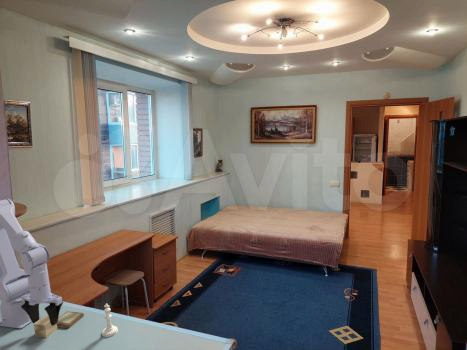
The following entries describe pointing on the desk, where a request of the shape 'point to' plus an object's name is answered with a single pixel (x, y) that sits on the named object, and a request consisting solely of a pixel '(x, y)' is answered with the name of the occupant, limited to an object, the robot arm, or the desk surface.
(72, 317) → the brown framed square tile
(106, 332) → the chess piece
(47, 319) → the birch cube
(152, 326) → the desk surface
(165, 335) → the desk surface
